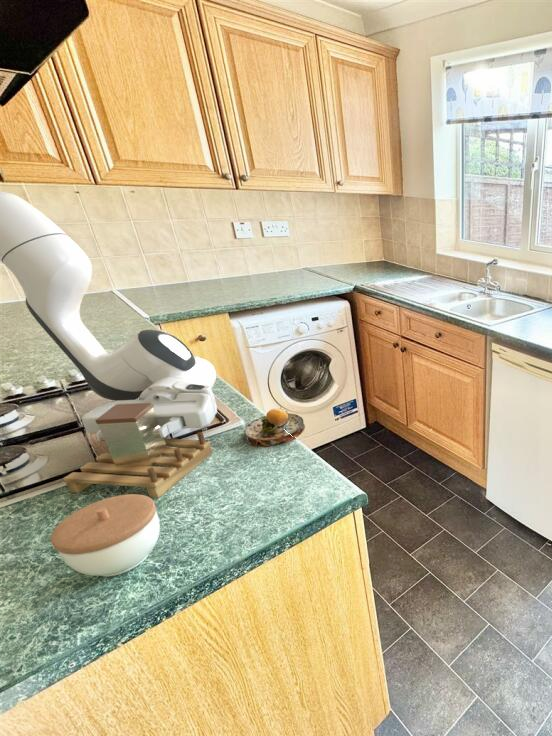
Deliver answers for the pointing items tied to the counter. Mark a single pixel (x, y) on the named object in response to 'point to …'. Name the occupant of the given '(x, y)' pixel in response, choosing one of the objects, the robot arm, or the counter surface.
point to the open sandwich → (274, 428)
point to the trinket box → (108, 535)
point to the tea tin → (131, 434)
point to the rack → (144, 468)
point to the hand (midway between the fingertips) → (130, 436)
